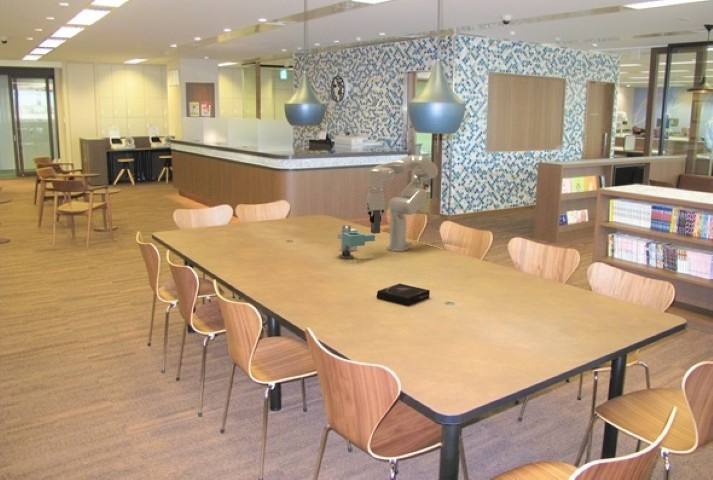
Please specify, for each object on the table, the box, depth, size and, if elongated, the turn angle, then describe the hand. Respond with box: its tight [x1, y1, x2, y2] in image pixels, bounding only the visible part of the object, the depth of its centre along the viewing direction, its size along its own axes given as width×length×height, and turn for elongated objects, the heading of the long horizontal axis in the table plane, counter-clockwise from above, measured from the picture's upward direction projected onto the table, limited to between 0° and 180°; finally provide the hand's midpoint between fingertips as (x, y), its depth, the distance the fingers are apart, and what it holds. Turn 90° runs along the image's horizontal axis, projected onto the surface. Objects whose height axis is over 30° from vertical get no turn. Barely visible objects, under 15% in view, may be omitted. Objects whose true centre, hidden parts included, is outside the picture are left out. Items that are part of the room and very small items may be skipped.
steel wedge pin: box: [370, 210, 381, 235], centre depth 358 cm, size 4×4×18 cm
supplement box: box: [339, 228, 358, 252], centre depth 372 cm, size 7×7×13 cm
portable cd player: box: [376, 283, 431, 307], centre depth 276 cm, size 16×17×4 cm
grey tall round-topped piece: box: [337, 224, 354, 260], centre depth 352 cm, size 10×10×18 cm
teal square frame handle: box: [342, 231, 376, 247], centre depth 346 cm, size 17×9×6 cm, turn 118°
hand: (375, 221), depth 359 cm, fingers closed on steel wedge pin, 4 cm apart
